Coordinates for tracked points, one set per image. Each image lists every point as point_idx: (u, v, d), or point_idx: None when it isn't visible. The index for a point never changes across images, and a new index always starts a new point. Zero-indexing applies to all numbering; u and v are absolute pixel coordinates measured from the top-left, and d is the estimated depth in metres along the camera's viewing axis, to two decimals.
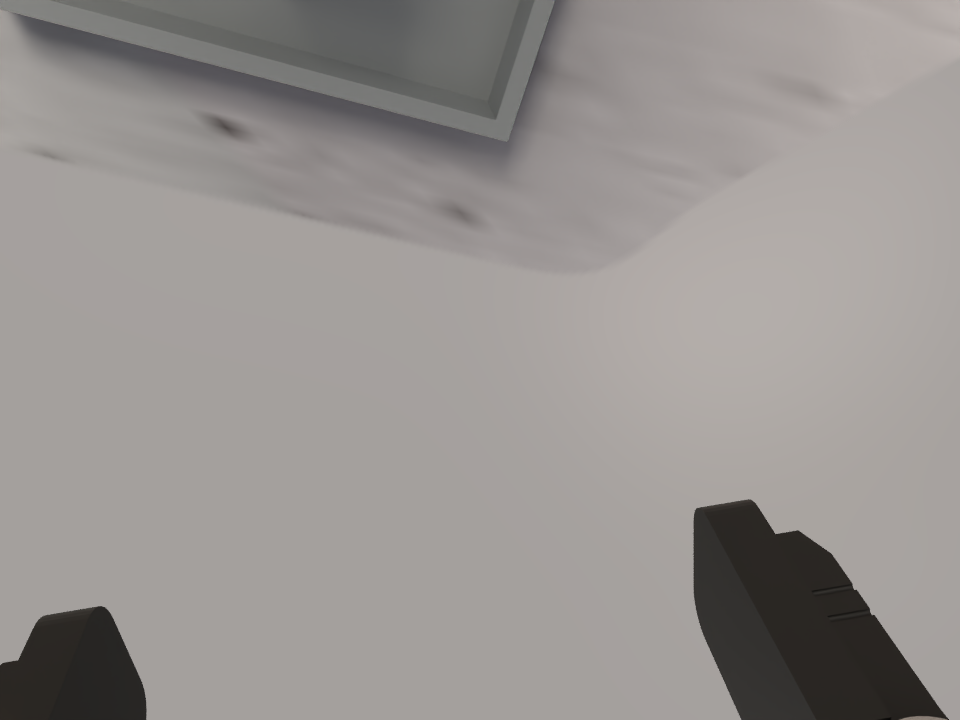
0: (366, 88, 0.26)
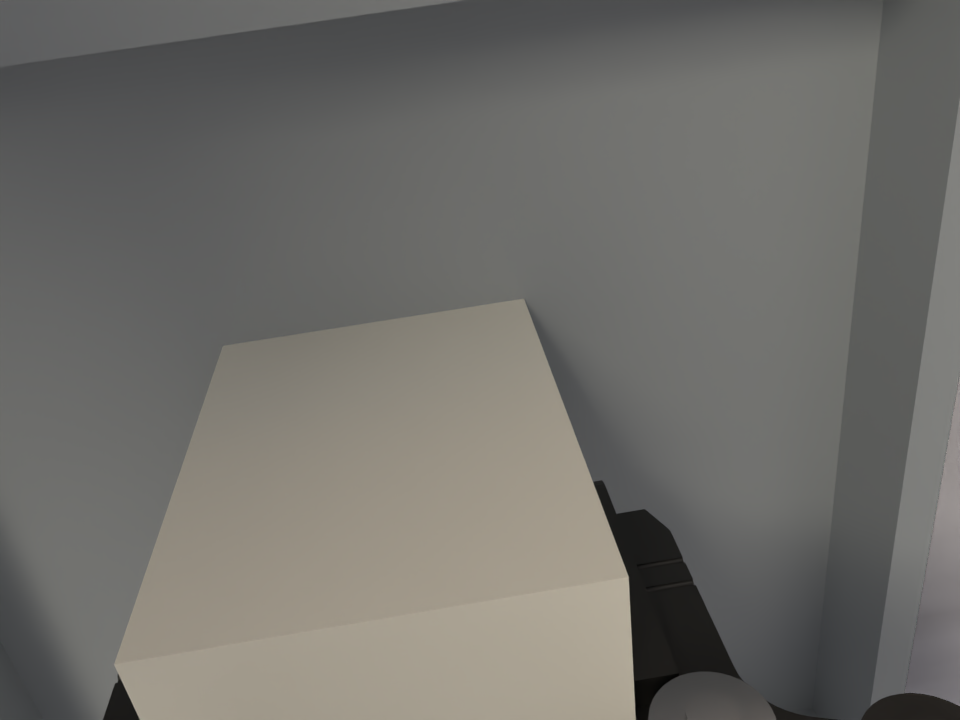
0: None
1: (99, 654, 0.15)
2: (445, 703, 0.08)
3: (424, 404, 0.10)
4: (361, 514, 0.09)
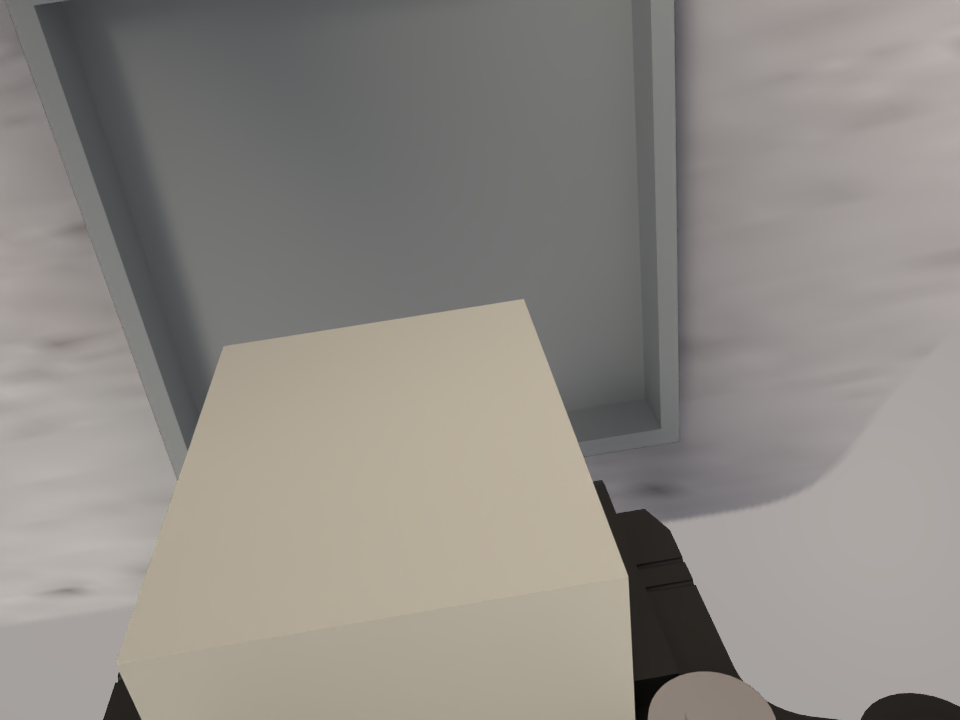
0: None
1: (220, 334, 0.27)
2: (445, 703, 0.08)
3: (423, 404, 0.10)
4: (361, 514, 0.09)
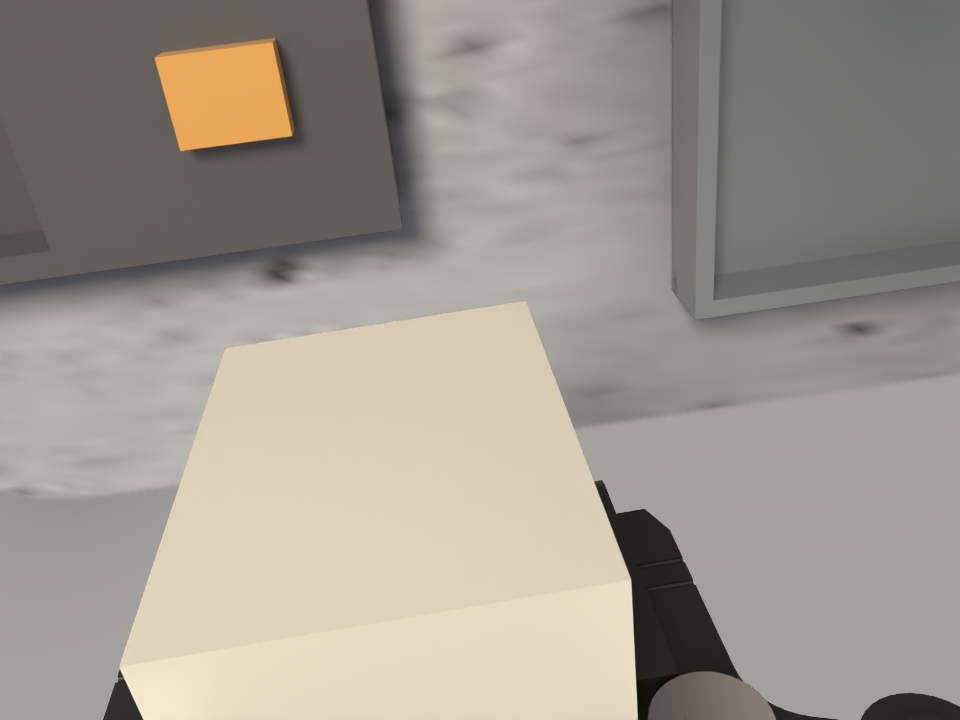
0: None
1: (741, 132, 0.27)
2: (448, 704, 0.08)
3: (426, 407, 0.10)
4: (364, 517, 0.09)
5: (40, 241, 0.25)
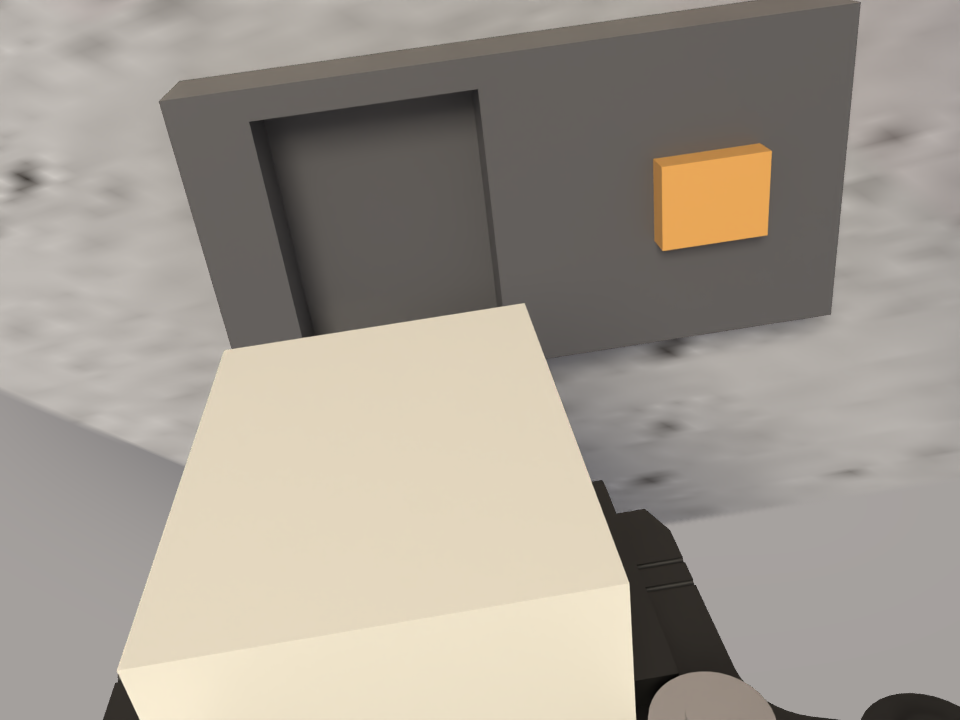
0: None
1: None
2: (446, 709, 0.08)
3: (424, 410, 0.10)
4: (362, 520, 0.09)
5: None
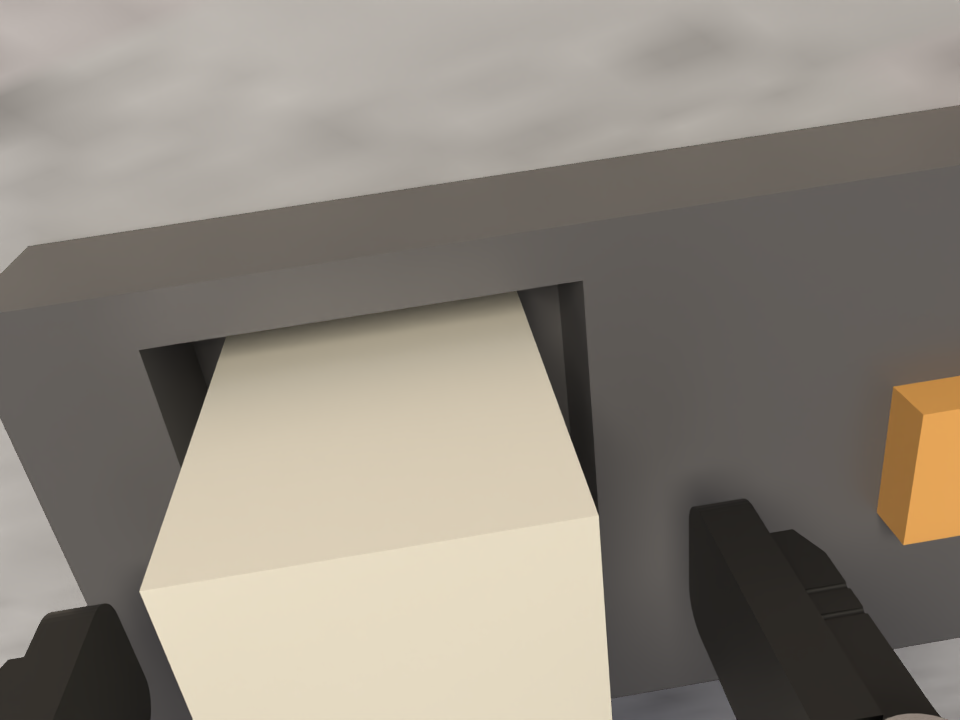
0: None
1: None
2: (435, 632, 0.09)
3: (417, 372, 0.11)
4: (359, 465, 0.10)
5: None
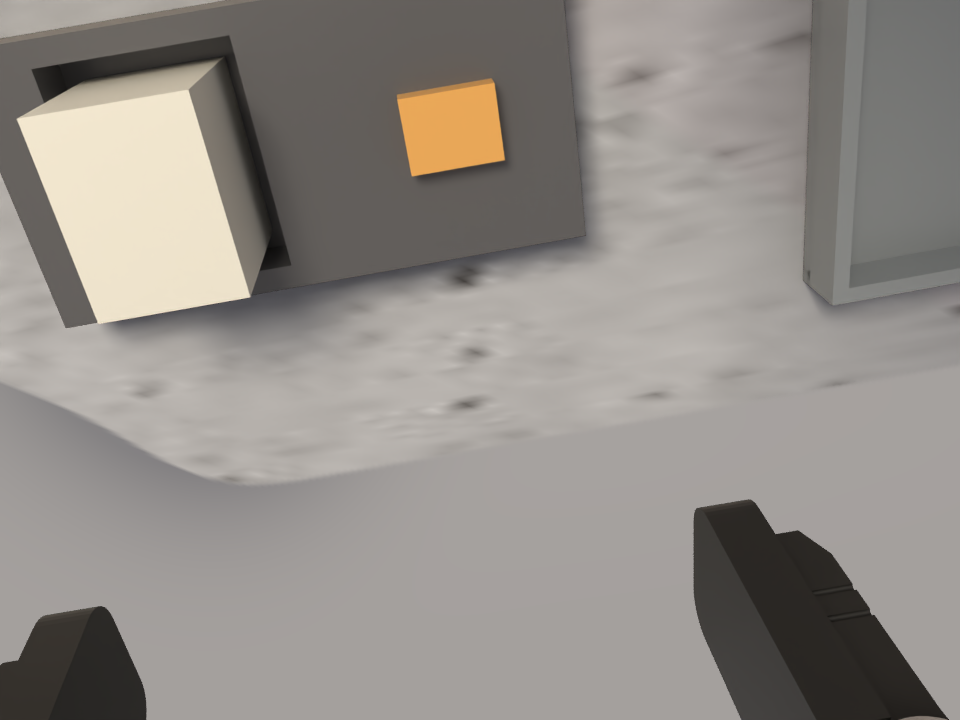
0: None
1: (870, 140, 0.31)
2: (135, 146, 0.23)
3: (155, 78, 0.25)
4: (113, 94, 0.24)
5: (275, 257, 0.30)
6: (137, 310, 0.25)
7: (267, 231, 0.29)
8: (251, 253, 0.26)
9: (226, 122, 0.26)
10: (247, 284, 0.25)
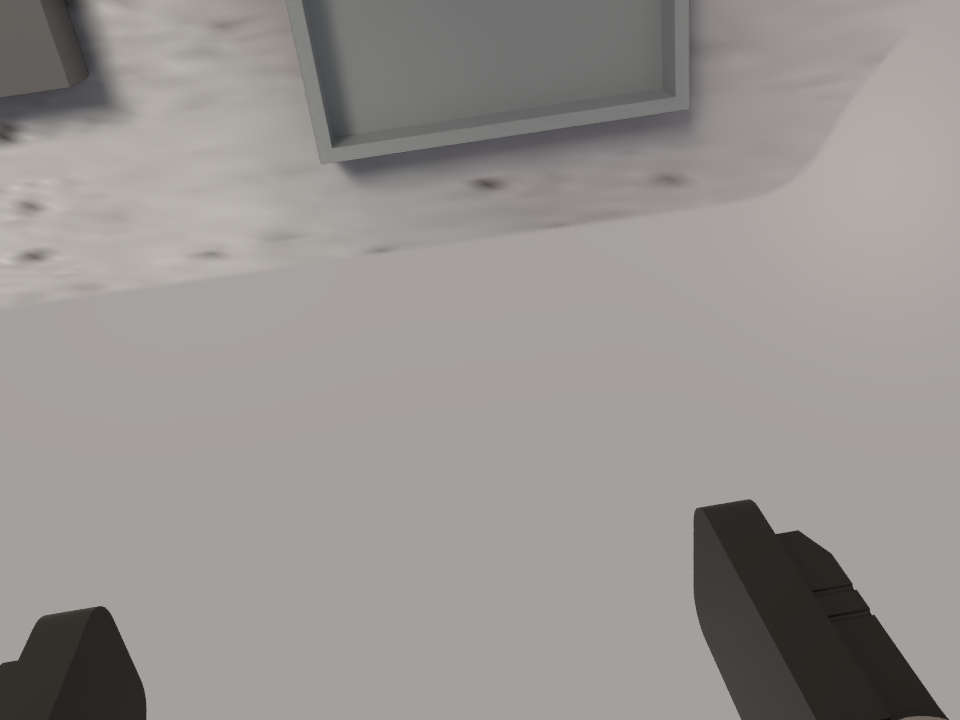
0: (578, 113, 0.36)
1: (345, 16, 0.35)
2: None
3: None
4: None
5: None
6: None
7: None
8: None
9: None
10: None
